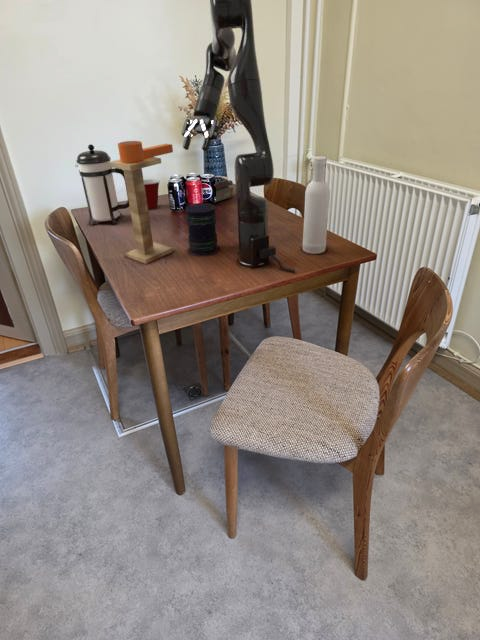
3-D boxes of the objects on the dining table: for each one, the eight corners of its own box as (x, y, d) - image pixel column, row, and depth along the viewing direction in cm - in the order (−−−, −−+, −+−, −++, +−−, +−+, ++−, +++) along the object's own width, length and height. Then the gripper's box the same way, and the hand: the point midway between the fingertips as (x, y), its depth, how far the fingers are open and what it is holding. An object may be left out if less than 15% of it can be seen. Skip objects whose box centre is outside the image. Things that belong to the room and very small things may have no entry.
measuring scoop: (162, 150, 140) (160, 134, 137) (177, 152, 136) (175, 135, 133) (115, 161, 127) (112, 143, 124) (130, 164, 123) (127, 145, 121)
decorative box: (241, 199, 197) (240, 178, 191) (208, 209, 185) (207, 187, 180) (222, 194, 205) (221, 173, 200) (190, 203, 193) (188, 182, 188)
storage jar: (192, 257, 141) (188, 213, 134) (187, 246, 150) (182, 205, 142) (221, 253, 144) (218, 210, 136) (214, 242, 152) (211, 201, 144)
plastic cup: (165, 203, 194) (162, 177, 188) (159, 211, 185) (156, 183, 179) (143, 204, 195) (139, 177, 189) (136, 211, 186) (131, 183, 180)
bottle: (318, 243, 148) (324, 153, 132) (330, 251, 142) (338, 158, 126) (298, 247, 146) (302, 156, 130) (309, 255, 139) (314, 161, 123)
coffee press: (97, 230, 167) (80, 150, 151) (82, 220, 178) (64, 144, 162) (136, 219, 176) (124, 143, 160) (119, 211, 187) (106, 138, 171)
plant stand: (153, 245, 151) (139, 154, 135) (172, 251, 146) (160, 158, 129) (126, 256, 144) (108, 161, 127) (146, 263, 138) (129, 165, 122)
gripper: (185, 98, 145) (172, 143, 146) (217, 97, 138) (204, 145, 138) (198, 109, 152) (185, 153, 152) (230, 109, 144) (216, 155, 145)
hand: (194, 149), depth 145 cm, fingers open, 8 cm apart
